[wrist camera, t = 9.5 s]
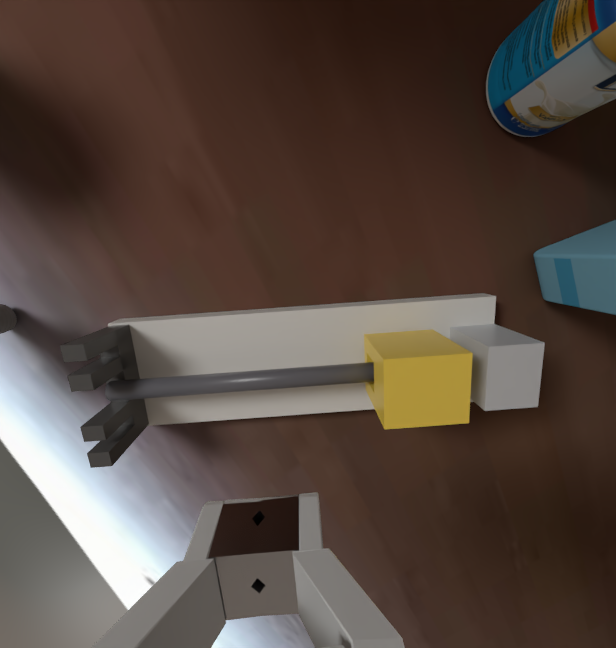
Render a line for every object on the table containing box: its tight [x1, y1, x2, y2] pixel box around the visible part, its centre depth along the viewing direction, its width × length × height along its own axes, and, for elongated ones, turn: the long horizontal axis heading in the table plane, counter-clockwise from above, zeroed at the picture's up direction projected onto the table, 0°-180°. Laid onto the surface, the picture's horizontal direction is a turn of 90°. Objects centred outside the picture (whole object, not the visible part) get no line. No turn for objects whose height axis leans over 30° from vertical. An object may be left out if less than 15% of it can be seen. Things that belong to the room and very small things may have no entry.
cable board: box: [60, 293, 545, 467], centre depth 27 cm, size 10×34×8 cm, turn 94°
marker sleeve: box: [364, 329, 473, 429], centre depth 25 cm, size 5×6×7 cm
